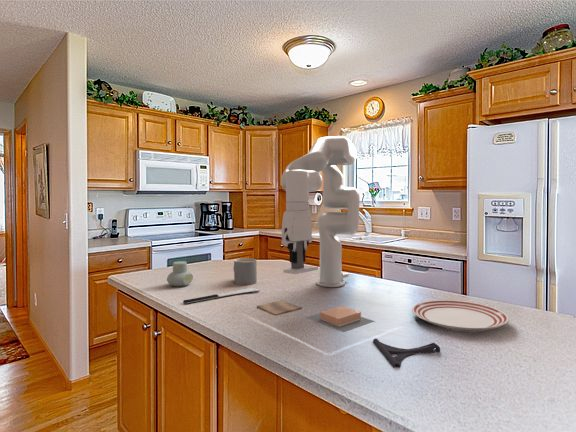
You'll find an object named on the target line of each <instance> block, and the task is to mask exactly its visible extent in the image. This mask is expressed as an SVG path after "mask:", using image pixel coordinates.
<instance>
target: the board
mask: <svg viewBox="0 0 576 432" xmlns="http://www.w3.org/2000/svg"><path fill="white" fill-rule="evenodd" d="M256 309H260V310H262V311H265V312H267V313H268V314H272V315H274V316H279V315H282V314H286V313H290V312H294V311H297V310H302V306H298V305H295V304H293V303H290V302H288V301H286V300H282V299H280V300H277V301H273V302H267V303H264V304H259V305H256Z"/></svg>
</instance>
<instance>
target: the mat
mask: <svg viewBox="0 0 576 432" xmlns="http://www.w3.org/2000/svg"><path fill="white" fill-rule="evenodd" d="M307 318H308V319H309V320H312V321H315V322H316V323H319V324H322V325H325V326H327V327H330V328H332V329H335V330H337V331H340V332H341V333H345V332H348V331H350V330H355V329H357V328H360V327H363V326H365V325H368V324H371V323H374V322H375V320H373V319H370V318H366V317H364V316H361V318H360V320H357V321H354V322H351V323H348V324H345V325H342V326H337V325H334V324H332V323H329V322H326V321H324V320H321V319H320V312H319V313H315V314H312V315H310V316H309V315H308V316H306V319H307Z"/></svg>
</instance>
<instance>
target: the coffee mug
mask: <svg viewBox="0 0 576 432" xmlns="http://www.w3.org/2000/svg"><path fill="white" fill-rule="evenodd" d="M233 273H234V277H233V278H234V279H233V280H234V281H233V282H234V284H235V285H238V286H250V285H254V284H256V283H257V280H258V277H257V259H255V258H248V257H247V258H245V257H244V258H235V259H234V260H233Z"/></svg>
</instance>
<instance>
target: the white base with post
mask: <svg viewBox="0 0 576 432" xmlns="http://www.w3.org/2000/svg"><path fill="white" fill-rule="evenodd" d="M292 244H293V243H292ZM296 251H297V263H291V262H290V266H291V267H290V268H285V269H283V273H285V274H291V275H299V274H303V273H308V272H314V271H318V270H319V268H318V266H316V265H315V266H314V265H313V266H312V265H305V262H304V261H303V241H299V242H296Z"/></svg>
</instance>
